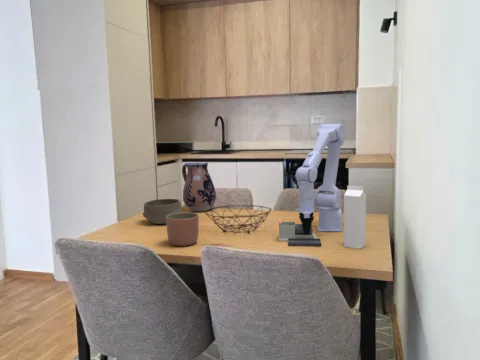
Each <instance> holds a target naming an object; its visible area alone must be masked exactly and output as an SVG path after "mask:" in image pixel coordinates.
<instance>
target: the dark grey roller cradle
mask: <svg viewBox="0 0 480 360" xmlns="http://www.w3.org/2000/svg"><path fill="white" fill-rule="evenodd" d="M287 246H288V247H322V241H321V238H317V237H316V238H288V241H287Z"/></svg>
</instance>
